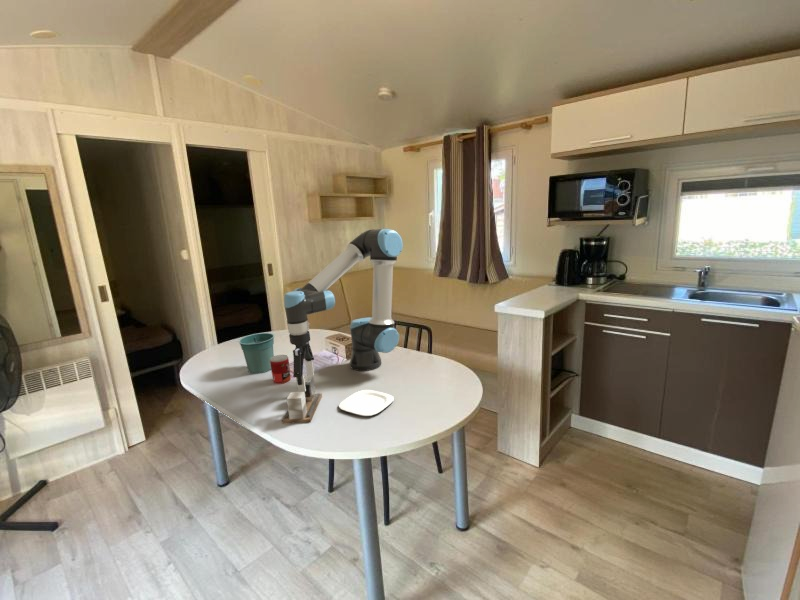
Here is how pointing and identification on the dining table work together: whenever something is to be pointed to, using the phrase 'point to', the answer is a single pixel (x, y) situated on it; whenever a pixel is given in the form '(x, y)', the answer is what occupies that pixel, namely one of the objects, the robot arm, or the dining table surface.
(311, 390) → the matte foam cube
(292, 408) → the rail board
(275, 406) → the dining table surface
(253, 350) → the flower pot
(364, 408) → the plate
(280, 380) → the canned food
